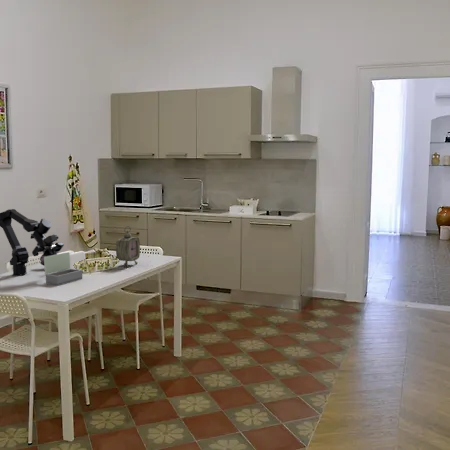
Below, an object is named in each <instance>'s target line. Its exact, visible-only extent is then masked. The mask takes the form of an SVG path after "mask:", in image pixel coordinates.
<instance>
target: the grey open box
mask: <svg viewBox="0 0 450 450" xmlns="http://www.w3.org/2000/svg"><path fill="white" fill-rule="evenodd" d="M79 280H83V270H76V269H67V270H63V271H57V272H52V273H48V274H45V284H46V285H52V286H57V287H58V286H62V285H65V284H69V283H73V282H76V281H79Z"/></svg>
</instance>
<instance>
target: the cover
mask: <svg viewBox="0 0 450 450" xmlns="http://www.w3.org/2000/svg"><path fill="white" fill-rule="evenodd" d="M69 268H70V257H69V252H67V253H62V254H57V255H52V256H47V257H44V275H46V274H51V273H55V272H59V271H61V270H65V269H69Z"/></svg>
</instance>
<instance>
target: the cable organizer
mask: <svg viewBox="0 0 450 450" xmlns="http://www.w3.org/2000/svg"><path fill="white" fill-rule="evenodd" d="M67 252H69V257H70V268H69V269H75V268H74V266H73V265H74V263H76V262H78V261H81V260H84V259H85V260H86V253H85V251H83V250H79V251H75V252H74V250H66V251H62V252H59V253H57V254H62V253H67ZM57 254H56V255H57ZM65 270H67V269H65ZM61 271H63V270H61Z"/></svg>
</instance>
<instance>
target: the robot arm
mask: <svg viewBox="0 0 450 450" xmlns="http://www.w3.org/2000/svg"><path fill="white" fill-rule="evenodd" d="M12 219H13V220H14V221H16V222H17V223H18V224H20V225H22V228H23V229H24V230H25V232H27V233H30V239H34V240H35V241H36V246H35V247H34V248H33V250H32V252H31V253H32V255H33V257H38V256H39V253H43V254H42V255H43V256H46V257H47V256H52V255H56V252H59V253H60V251H61V250H62V249H63V248H64V246H65V243H64V242H62V241H58V240H59V235H58V234H57V233H53V234H52V235H48V236H46V234H47V233H48V232H49V231H50V229H51V228H52V227H53V225H52V224H53V223H52V222H51V221H50V220H48V219H45V218H41V219H40V221H37V220H35V219H30V218H29V217H26V216H25V215H23V214H21V212H19V211H18V210H16V209H15V208H10V209H7V210H5V211H2V212H0V228H2V230H3V232H4V234H5V236H6V238H7V241H8V243H9V245H10V247H11V250H12V251H11V256H12V257H11V258H10V260H9V265H10V266H12V274H11V275H12V276H25V275H26V274H27V266H26V264H28V262H29V258H30V257H29V252H28V250H27V247H25V246H24V247H23V246H22V245H21V243H20V242H19V239H18V237H17V234H16V232H15V230H14V228H13V226H12V221H13V220H12ZM56 241H58V242H56Z"/></svg>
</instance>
